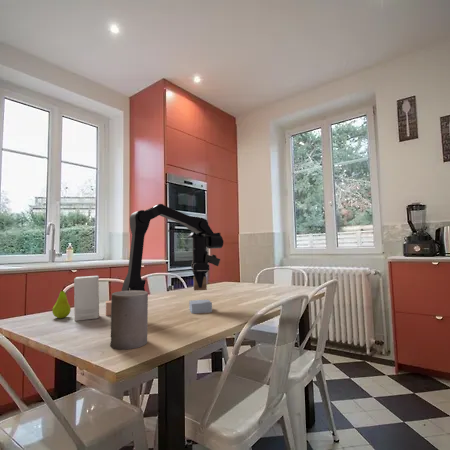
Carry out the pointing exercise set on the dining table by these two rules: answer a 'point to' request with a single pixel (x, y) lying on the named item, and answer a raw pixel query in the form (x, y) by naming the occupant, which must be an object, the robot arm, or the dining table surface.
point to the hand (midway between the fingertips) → (199, 286)
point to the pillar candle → (129, 319)
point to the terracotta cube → (108, 308)
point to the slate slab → (200, 306)
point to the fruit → (61, 306)
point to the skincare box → (86, 297)
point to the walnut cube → (204, 285)
